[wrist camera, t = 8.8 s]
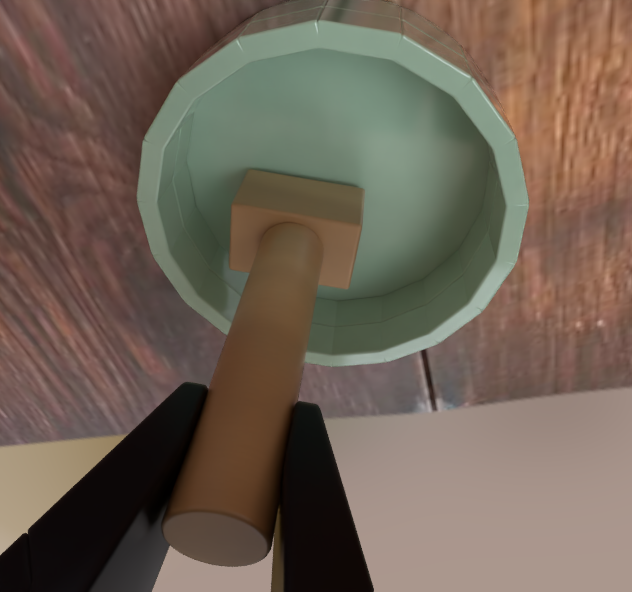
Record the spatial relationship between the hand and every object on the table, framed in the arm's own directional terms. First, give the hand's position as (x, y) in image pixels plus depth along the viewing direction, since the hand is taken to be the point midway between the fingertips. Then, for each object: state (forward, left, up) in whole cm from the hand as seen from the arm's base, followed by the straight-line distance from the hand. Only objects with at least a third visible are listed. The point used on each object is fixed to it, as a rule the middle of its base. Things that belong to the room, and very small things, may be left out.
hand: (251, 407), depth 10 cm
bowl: (+1, -1, -8) cm, 8 cm away
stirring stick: (0, 0, -7) cm, 7 cm away
